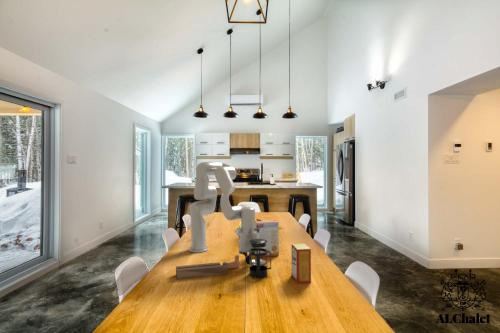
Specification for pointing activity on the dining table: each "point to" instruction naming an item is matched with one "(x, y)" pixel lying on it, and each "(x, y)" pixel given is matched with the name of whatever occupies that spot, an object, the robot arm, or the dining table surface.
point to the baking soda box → (301, 263)
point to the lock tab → (234, 262)
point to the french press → (258, 258)
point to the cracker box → (269, 236)
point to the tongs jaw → (196, 266)
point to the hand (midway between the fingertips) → (248, 263)
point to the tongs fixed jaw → (202, 271)
